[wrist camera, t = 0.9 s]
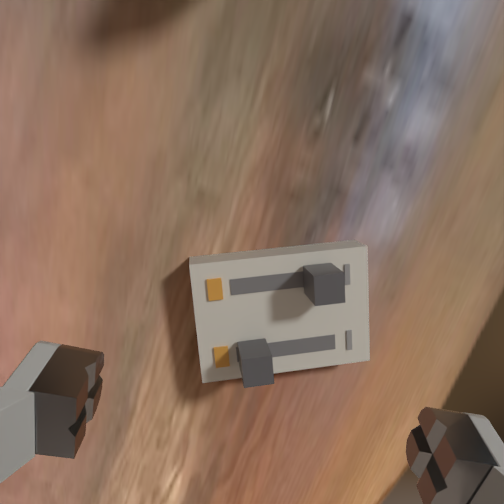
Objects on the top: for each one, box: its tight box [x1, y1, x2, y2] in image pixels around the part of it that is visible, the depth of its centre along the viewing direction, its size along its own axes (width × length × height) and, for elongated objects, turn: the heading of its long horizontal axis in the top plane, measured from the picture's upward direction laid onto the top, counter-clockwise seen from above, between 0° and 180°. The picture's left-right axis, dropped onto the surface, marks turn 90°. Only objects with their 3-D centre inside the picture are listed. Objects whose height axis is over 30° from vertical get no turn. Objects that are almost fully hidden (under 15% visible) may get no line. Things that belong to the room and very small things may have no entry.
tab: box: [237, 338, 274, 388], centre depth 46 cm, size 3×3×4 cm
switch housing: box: [189, 240, 370, 383], centre depth 50 cm, size 14×20×4 cm
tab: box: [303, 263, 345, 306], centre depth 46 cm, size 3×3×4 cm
